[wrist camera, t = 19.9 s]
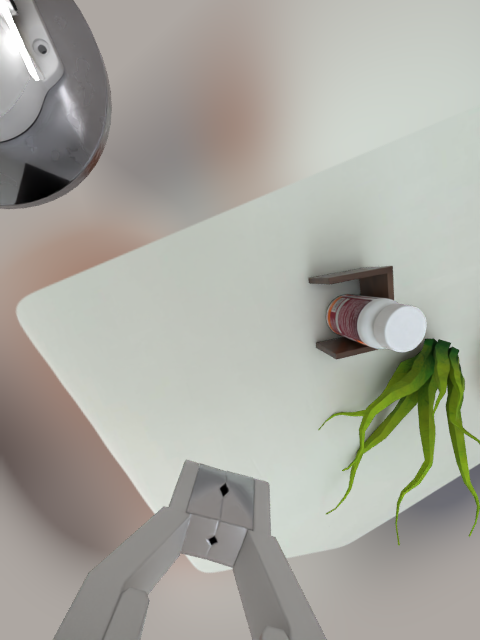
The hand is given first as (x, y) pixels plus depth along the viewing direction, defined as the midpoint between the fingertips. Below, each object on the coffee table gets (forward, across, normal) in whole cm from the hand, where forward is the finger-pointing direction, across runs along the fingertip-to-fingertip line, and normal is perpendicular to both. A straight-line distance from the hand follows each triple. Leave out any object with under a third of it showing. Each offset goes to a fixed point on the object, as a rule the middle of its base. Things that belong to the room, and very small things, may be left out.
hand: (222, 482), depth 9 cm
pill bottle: (+30, -14, -1) cm, 33 cm away
